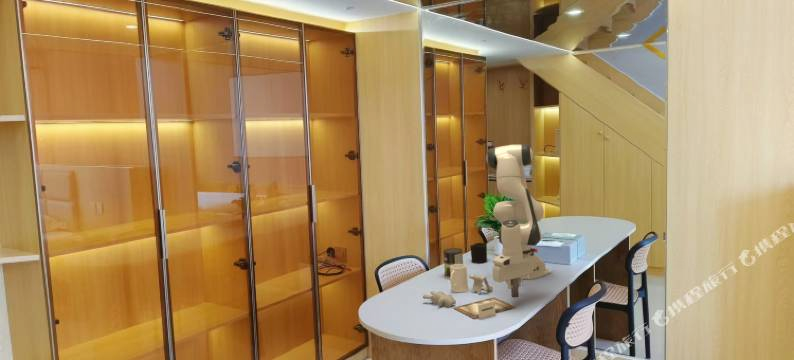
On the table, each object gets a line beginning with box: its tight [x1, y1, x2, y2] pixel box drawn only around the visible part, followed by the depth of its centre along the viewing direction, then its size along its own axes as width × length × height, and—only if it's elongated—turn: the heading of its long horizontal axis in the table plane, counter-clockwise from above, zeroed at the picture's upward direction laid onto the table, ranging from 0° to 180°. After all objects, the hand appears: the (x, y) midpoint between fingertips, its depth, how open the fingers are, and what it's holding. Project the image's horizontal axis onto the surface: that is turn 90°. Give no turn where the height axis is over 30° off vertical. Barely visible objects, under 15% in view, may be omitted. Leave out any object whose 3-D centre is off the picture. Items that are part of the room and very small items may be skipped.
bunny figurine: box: [422, 290, 456, 308], centre depth 248 cm, size 10×5×15 cm
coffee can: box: [442, 247, 464, 280], centre depth 289 cm, size 10×10×14 cm
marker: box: [510, 278, 520, 299], centre depth 241 cm, size 3×3×12 cm
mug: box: [449, 263, 469, 294], centre depth 264 cm, size 12×8×12 cm
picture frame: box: [453, 297, 517, 320], centre depth 238 cm, size 22×16×1 cm
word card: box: [478, 301, 496, 320], centre depth 228 cm, size 8×1×6 cm, turn 116°
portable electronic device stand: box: [468, 273, 494, 295], centre depth 261 cm, size 9×8×8 cm
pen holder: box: [469, 242, 488, 264], centre depth 314 cm, size 9×9×10 cm
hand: (514, 287), depth 241 cm, fingers closed on marker, 3 cm apart
